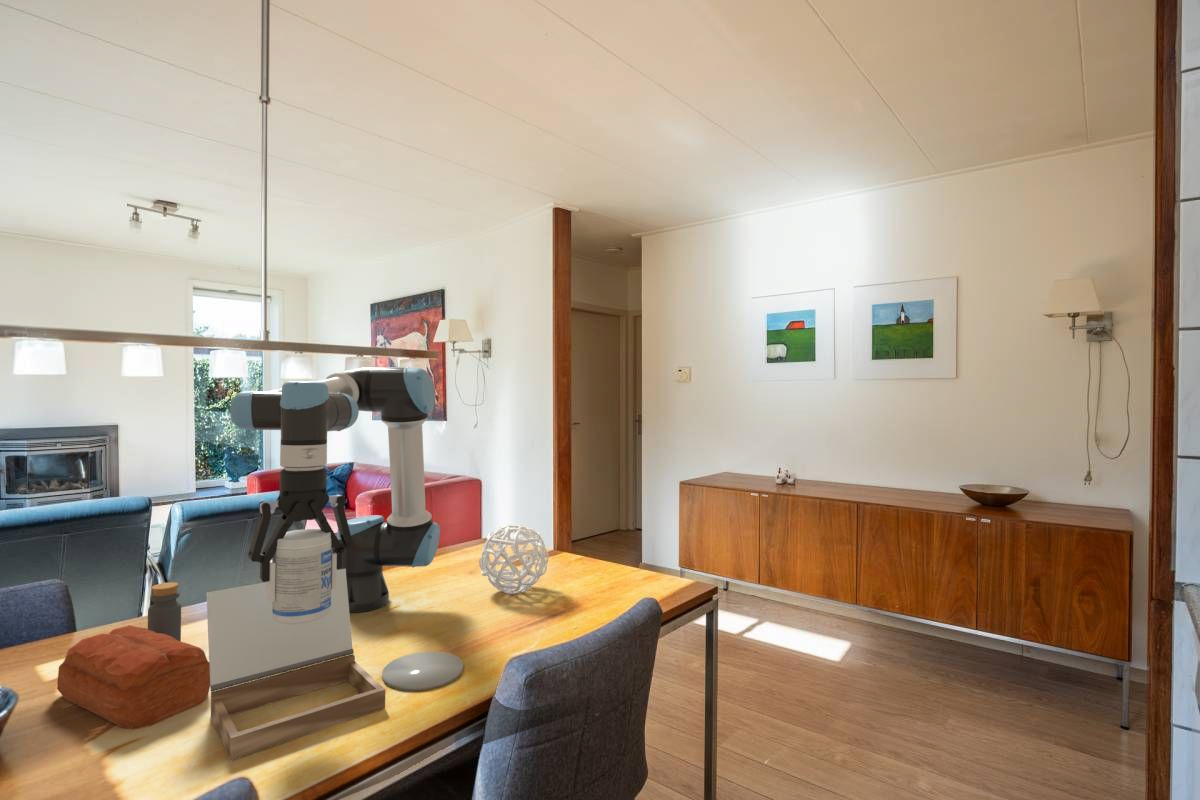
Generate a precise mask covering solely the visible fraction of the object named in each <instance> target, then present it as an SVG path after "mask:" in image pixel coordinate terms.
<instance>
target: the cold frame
mask: <svg viewBox="0 0 1200 800" xmlns="http://www.w3.org/2000/svg"><path fill="white" fill-rule="evenodd" d="M347 681H348V682H349V683H350V684H351V685H352V686H354V688H356V689H357V691H358V692H359V694H356V695H352V696H350V697H347V698H343V699H340V700H337V701H334V702H331V703H330V702H329V703H327V704H324V705H321V706H317V707H315V708H311V709H308V710H306V711H305V710H304V711H302V712H298V713H295V714H292V715H288V716H285V717H282V718H279V719H275V720H273V721H270V722H269V721H268V722H266V723H263V724H259V725H257V726H254V727H250V728H247V729H244V730H241V731H238V729H237V728H236V725H235V724H234V722H233V719H232V718H231V715H236V714H238V713H243V712H246V711H249V710H251V709H256V708H259V707H263V706H266V705H269V704H273V703H277V702H279V701H283V700H286V699H289V698H290V699H291V698H293V697H296V696H300V695H303V694H306V693H307V694H308V693H311V692H314V691H317V690H320V689H324V688H327V687H330V686H334V685H337V684H338V685H339V684H341V683H344V682H347ZM385 709H386V688H385V687H384V686H382V685H381V684H380V683H379V682H378V681H377V680H376V679H375V678H374V677H373V676H372V675H370V673H368V672H367V671H366V670H365V669H364V668H363V667H362V666H361V665H360V664H359V663H358V662H357V661H356V655H354V653H353V654H350V655H347V656H343V657H339V658H336V659H332V660H328V661H324V662H321V663H317V664H313V665H309V666H306V667H302V668H298V669H294V670H291V671H287V672H283V673H279V674H276V675H272V676H268V677H264V678H261V679H257V680H253V681H249V682H246V683H242V684H238V685H234V686H231V687H227V688H223V689H219V690H216V691H212V692H211V691H210V720H211V722H212V723H213V726H214V729H216V732H217V734H218V737H219V740H220V742H221V743H222V745H223V748H224V750H225V752H226V754H227V756H228V758H230V759H229V760H230V761H231V760H232V761H235V760H236V758H237V759H240V758H244V757H246V756H249V755H252V754H254V753H258V752H261V751H263V750H267V749H270V748H272V747H276V746H278V745H281V744H284V743H287V742H291V741H293V740H296V739H299V738H302V737H305V736H309V735H312V734H314V733H317V732H319V731H323V730H326V729H328V728H332V727H335V726H338V725H340V724H344V723H346V722H349V721H352V720H355V719H359V718H361V717H364V716H368V715H370V714H373V713H376V712H379V711H382V710H385ZM239 757H240V758H239Z"/></svg>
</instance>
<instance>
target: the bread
mask: <svg viewBox="0 0 1200 800" xmlns="http://www.w3.org/2000/svg"><path fill="white" fill-rule="evenodd" d="M57 671H58V673H57V687H56V689H57V690H58V691H59V693H60V694H61V695H62V697H63V698H64V699H65V700H66V701H68V702H70V703H71V704H74V705H76V706H78V707H80V708H83V709H85V710H87V711H89V712H91V713H92V714H96V716H99V717H101V718H102V719H104V720H105V721H108V722H110V723H112V724H114V725H116V726H117V727H121V728H122V729H128V730H129V729H132V730H136V729H140V728H141V729H142V728H146V727H149V726H153V725H155V724H158V723H160V722H163V721H165V720H167V719H169V718H171V717H174V716H177V715H179V714H181V713H183V712H187V711H188V710H190V709H193V708H196V707H198V706H201V704H203V703H204V702H205V701H206V700H207V699H208V696H209V693H210V690H211V688H210V668H209V660H208V659H207V656H206V653H205V651H204V650H203V649H202V648H201V647H199V646H197V645H193V644H190V643H187V642H184V641H178V640H176V639H175V638H173V637H171V636H169V635H166V634H160V633H156V632H154V631H150V630H148V628H144V627H140V626H139V627H138V626H134V625H127V626H125V625H124V626H122V627H118V628H114V629H112V630H111V631H110V632H108V633H99V634H96V635H92V636H90V637H89V636H88V637H86V638H82V639H81V640H80V641H78V642H77V643H75V644H74V645H73V646H71V647H70V648H69V649H68V650H67V652H66V655H65V658H64V661H63V662H62V663H61V664H60V665H59V666H58V670H57Z"/></svg>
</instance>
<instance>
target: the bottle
mask: <svg viewBox="0 0 1200 800" xmlns="http://www.w3.org/2000/svg"><path fill="white" fill-rule="evenodd" d="M178 586H179V583H178V582H176V581H175V582H162V583H157V584H154V585H153V586H151V592H152V594H151V595H150V597H149V599H150V600H149V601H151V602H153V603H152V604H151V605H150V606H149V607H148V608H147V629H148V630H150V631H154V632H156V633H160V634H166V635H169V636H171V637H173V638H175V639H176V640H178V641H181V640H182V639H181V638H182V604H181V601H179V600H177V599H178V598H179V597H180V591H179V590H178ZM181 642H182V641H181Z"/></svg>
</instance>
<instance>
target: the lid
mask: <svg viewBox="0 0 1200 800" xmlns="http://www.w3.org/2000/svg"><path fill="white" fill-rule="evenodd" d="M206 612H207V614H206V616H207V635H208V636H207V637H208V638H207V639H208V641H207V642H208V662H209V668H210V693H211V692H213V691H217V690H221V689H224V688H228V687H232V686H236V685H239V684H243V683H247V682H251V681H254V680H258V679H262V678H265V677H269V676H273V675H277V674H280V673H284V672H288V671H292V670H295V669H299V668H303V667H307V666H310V665H314V664H318V663H322V662H325V661H329V660H333V659H337V658H340V657H344V656H348V655H352V654H353V655H354V652H355V651H354V648H353V640H352V639H353V638H352V628H351V626H352V625H351V616H350V612H349V602H348V591H347V579H346V568H345V569H340V570H337V572H336V589H333V590H332V589H331V610H330V612H329V613H328V614H327V615H326V616H325V617H323V618H321V619H318V620H315V621H312V622H308V623H302V624H281V623H279V622H276V621H275V620H274V619H273V617H272V601H271V602H270V601H269V600H268V599H267V598H266V582H260V583H252V584H249V585H248V584H247V585H242V586H237V587H230V588H225V589H219V590H213V591H207V592H206Z"/></svg>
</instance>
